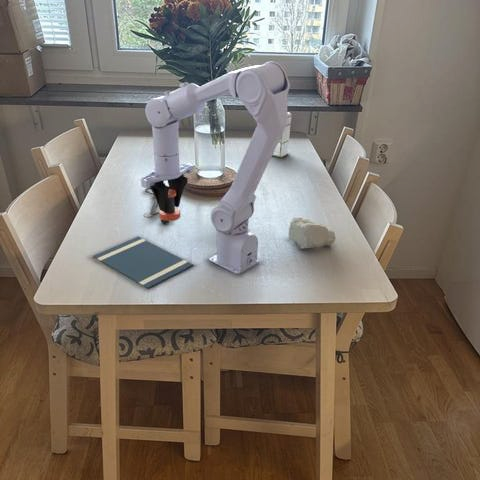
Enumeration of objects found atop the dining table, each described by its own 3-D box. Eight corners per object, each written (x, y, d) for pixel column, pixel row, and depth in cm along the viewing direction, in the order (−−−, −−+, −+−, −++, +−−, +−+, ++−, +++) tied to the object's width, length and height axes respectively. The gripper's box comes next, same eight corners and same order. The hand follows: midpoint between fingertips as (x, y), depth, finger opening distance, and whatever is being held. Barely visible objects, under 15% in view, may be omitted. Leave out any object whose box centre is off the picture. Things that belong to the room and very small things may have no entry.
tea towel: (193, 265, 120) (193, 264, 120) (147, 289, 111) (147, 287, 111) (138, 237, 130) (138, 236, 130) (92, 257, 121) (92, 255, 121)
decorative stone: (342, 240, 129) (331, 218, 121) (317, 266, 129) (304, 245, 121) (313, 220, 135) (301, 198, 127) (290, 245, 135) (276, 224, 127)
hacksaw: (168, 225, 136) (168, 220, 135) (130, 224, 136) (130, 218, 135) (179, 190, 155) (179, 185, 154) (146, 188, 155) (145, 184, 154)
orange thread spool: (184, 216, 125) (183, 191, 121) (169, 223, 122) (167, 198, 118) (170, 210, 128) (169, 185, 124) (154, 216, 125) (153, 191, 121)
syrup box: (288, 153, 185) (292, 112, 177) (280, 158, 181) (284, 116, 173) (274, 150, 188) (277, 109, 179) (266, 154, 184) (269, 113, 175)
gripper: (177, 141, 122) (180, 194, 130) (130, 155, 113) (135, 211, 121) (198, 148, 118) (199, 203, 127) (151, 163, 110) (155, 221, 118)
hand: (169, 208), depth 124 cm, fingers closed on orange thread spool, 3 cm apart
